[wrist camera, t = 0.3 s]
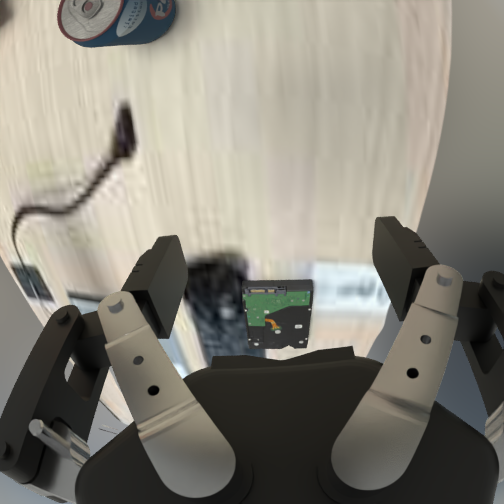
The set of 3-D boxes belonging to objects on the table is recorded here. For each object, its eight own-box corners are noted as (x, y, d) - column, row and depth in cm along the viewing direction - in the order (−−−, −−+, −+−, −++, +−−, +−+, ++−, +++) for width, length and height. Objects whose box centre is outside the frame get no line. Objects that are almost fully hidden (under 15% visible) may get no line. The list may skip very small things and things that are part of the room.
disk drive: (307, 335, 53) (312, 276, 43) (308, 348, 50) (314, 290, 41) (249, 337, 53) (240, 278, 44) (248, 349, 51) (239, 292, 42)
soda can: (192, 11, 22) (150, -7, 13) (145, 56, 25) (85, 66, 16) (151, -24, 19) (94, -49, 10) (107, 21, 22) (37, 21, 13)
